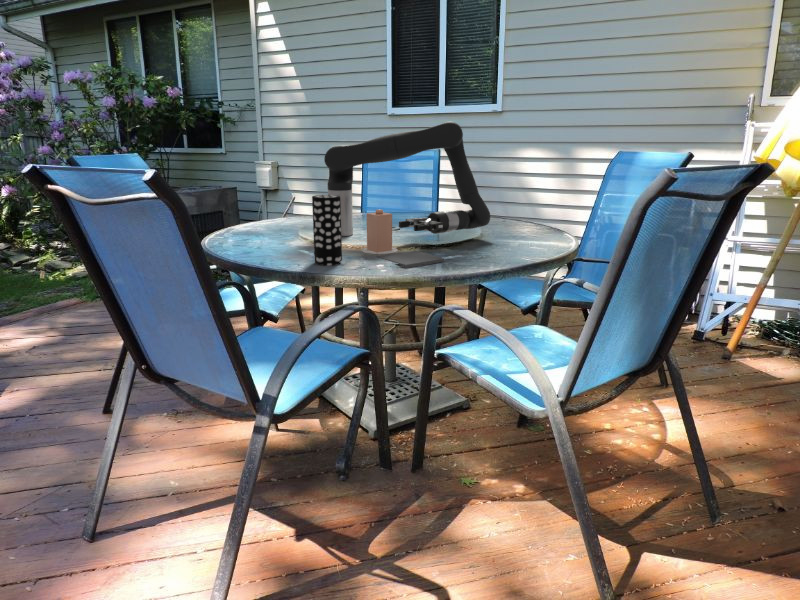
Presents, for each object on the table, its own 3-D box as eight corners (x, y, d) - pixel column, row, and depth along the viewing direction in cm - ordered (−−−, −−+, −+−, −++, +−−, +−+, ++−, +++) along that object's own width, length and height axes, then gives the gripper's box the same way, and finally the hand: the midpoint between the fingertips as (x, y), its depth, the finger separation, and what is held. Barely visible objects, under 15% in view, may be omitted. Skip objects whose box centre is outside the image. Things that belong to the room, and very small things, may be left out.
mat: (376, 259, 176) (376, 256, 175) (414, 253, 184) (414, 250, 184) (405, 268, 164) (405, 264, 164) (444, 261, 173) (444, 258, 172)
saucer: (357, 255, 181) (357, 243, 180) (366, 248, 192) (366, 236, 191) (393, 256, 179) (393, 244, 178) (400, 249, 190) (400, 237, 189)
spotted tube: (315, 266, 166) (312, 198, 160) (314, 260, 174) (311, 195, 168) (343, 265, 168) (341, 197, 162) (340, 259, 176) (339, 194, 170)
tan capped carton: (367, 249, 186) (366, 209, 182) (381, 247, 190) (381, 208, 186) (377, 252, 181) (376, 211, 178) (392, 250, 185) (392, 210, 181)
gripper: (430, 209, 203) (394, 213, 194) (456, 213, 193) (420, 217, 183) (430, 229, 206) (394, 234, 196) (456, 235, 195) (419, 240, 185)
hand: (406, 226), depth 190 cm, fingers open, 8 cm apart
